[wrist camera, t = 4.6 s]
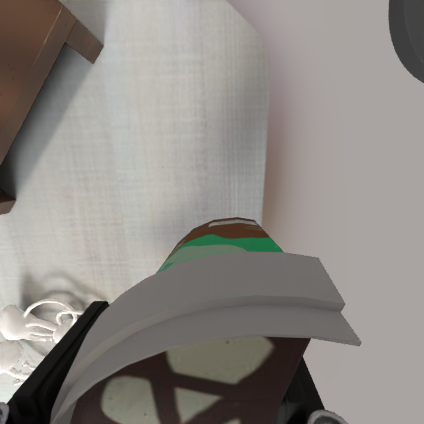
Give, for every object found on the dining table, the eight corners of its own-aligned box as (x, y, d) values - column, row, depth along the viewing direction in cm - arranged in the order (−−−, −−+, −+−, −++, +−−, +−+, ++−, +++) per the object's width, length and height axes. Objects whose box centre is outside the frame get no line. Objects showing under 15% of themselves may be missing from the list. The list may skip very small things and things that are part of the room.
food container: (167, 175, 13) (2, 229, 3) (261, 198, 13) (376, 318, 3) (140, 327, 16) (18, 582, 6) (215, 344, 16) (206, 621, 7)
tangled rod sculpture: (163, 328, 30) (157, 352, 26) (122, 398, 32) (110, 431, 28) (33, 272, 27) (3, 290, 23) (-3, 353, 29) (-36, 383, 25)
